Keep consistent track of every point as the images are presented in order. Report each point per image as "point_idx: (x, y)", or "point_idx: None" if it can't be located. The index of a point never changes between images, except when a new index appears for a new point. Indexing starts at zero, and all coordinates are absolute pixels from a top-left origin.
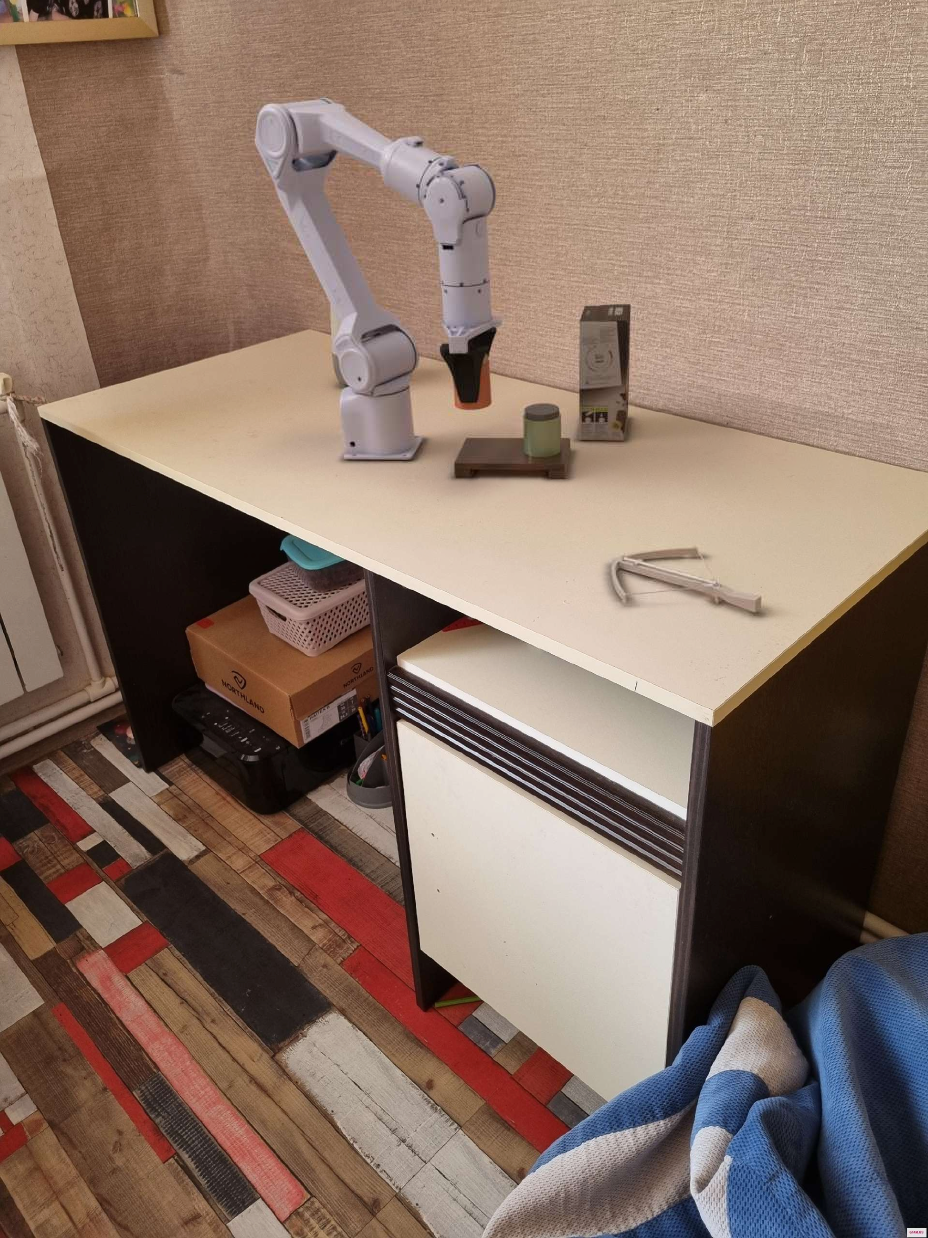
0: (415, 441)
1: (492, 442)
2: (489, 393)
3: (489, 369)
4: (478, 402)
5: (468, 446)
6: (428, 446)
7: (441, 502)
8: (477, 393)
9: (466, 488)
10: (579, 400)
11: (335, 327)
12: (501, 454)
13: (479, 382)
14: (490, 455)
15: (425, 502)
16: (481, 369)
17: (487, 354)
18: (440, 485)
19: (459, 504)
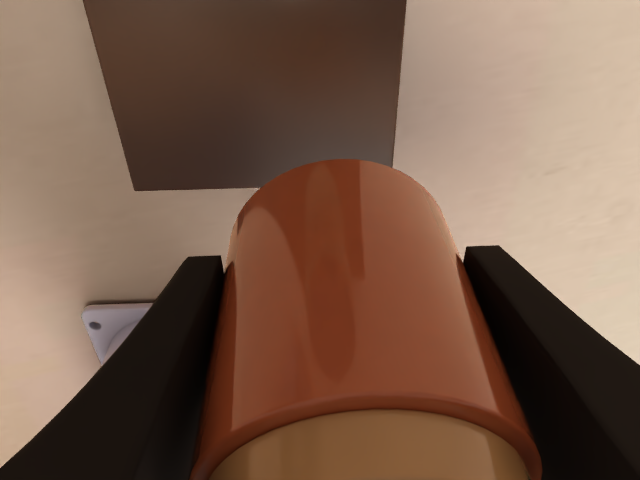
0: (133, 318)
1: (163, 81)
2: (380, 204)
3: (373, 332)
4: (451, 235)
5: (224, 167)
6: (132, 279)
7: (572, 158)
8: (534, 280)
9: (474, 103)
10: None
11: None
12: (301, 15)
13: (579, 328)
14: (313, 63)
15: (559, 201)
16: (602, 408)
17: (148, 457)
18: (439, 187)
19: (604, 101)
